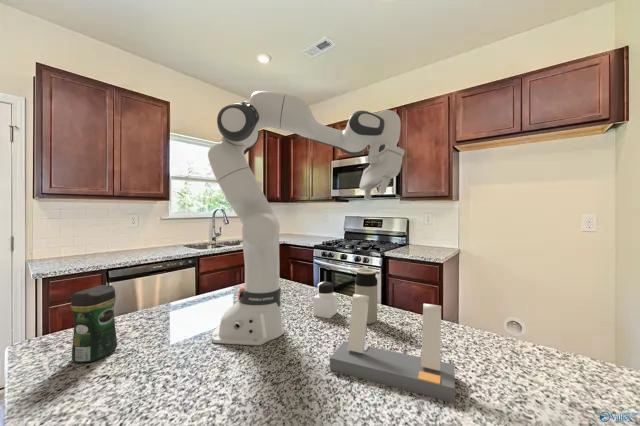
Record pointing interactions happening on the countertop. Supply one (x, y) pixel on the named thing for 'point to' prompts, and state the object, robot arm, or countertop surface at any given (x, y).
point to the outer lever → (431, 336)
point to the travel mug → (368, 291)
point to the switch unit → (396, 371)
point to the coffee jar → (93, 323)
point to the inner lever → (358, 323)
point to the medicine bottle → (325, 301)
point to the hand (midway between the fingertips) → (374, 196)
